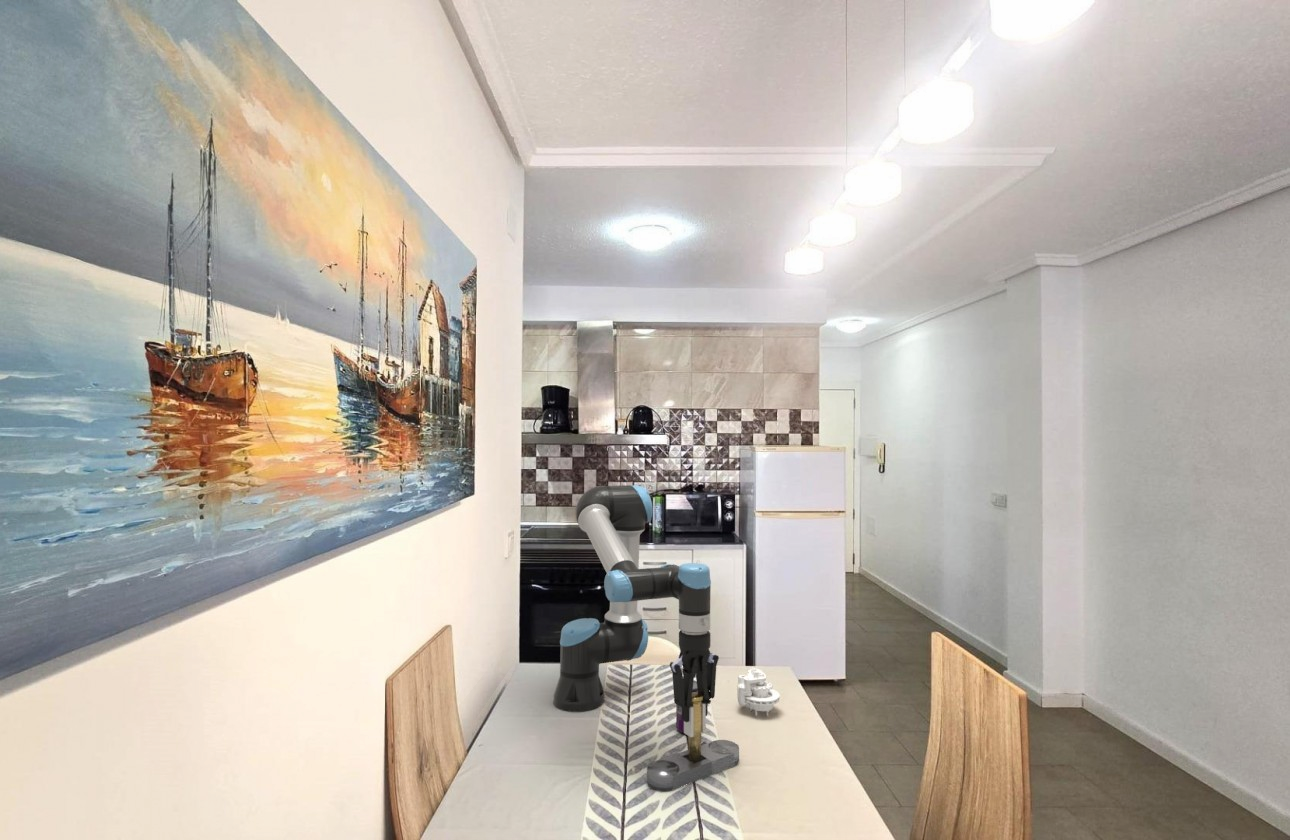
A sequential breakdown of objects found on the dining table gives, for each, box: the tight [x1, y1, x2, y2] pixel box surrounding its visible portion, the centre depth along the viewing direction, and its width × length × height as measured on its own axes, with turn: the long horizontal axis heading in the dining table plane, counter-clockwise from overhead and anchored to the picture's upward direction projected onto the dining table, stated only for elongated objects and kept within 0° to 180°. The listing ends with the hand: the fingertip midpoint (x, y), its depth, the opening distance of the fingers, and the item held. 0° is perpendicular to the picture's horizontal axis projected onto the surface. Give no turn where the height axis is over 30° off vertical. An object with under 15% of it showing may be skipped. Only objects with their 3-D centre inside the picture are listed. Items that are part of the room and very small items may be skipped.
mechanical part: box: [736, 667, 780, 717], centre depth 171 cm, size 11×12×12 cm
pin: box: [688, 693, 703, 760], centre depth 138 cm, size 4×4×14 cm
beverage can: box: [675, 680, 698, 734], centre depth 159 cm, size 7×7×12 cm
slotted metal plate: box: [646, 739, 740, 793], centre depth 138 cm, size 7×26×3 cm, turn 124°
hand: (694, 732), depth 138 cm, fingers closed on pin, 3 cm apart
